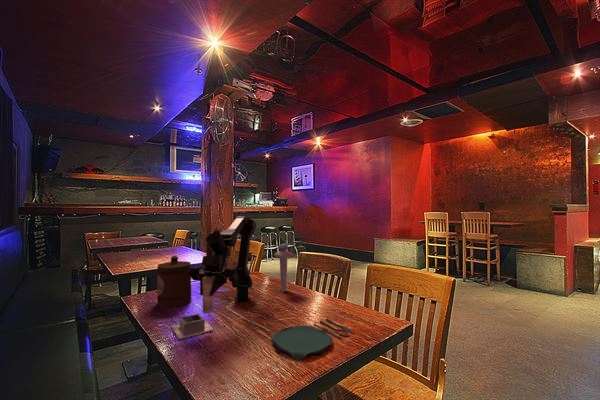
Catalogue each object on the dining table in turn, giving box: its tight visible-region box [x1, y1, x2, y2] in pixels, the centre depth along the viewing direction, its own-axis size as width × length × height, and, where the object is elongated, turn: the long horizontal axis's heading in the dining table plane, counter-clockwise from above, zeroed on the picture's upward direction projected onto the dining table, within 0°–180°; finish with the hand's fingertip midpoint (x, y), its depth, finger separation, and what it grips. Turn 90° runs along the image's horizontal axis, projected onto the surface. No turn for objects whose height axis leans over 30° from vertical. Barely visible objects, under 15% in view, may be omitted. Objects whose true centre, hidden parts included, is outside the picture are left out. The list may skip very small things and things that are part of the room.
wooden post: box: [202, 277, 214, 315], centre depth 107 cm, size 4×4×12 cm
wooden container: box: [156, 255, 192, 308], centre depth 137 cm, size 15×15×22 cm
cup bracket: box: [171, 313, 214, 340], centre depth 108 cm, size 12×12×4 cm
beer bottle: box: [202, 242, 215, 284], centre depth 166 cm, size 8×8×24 cm
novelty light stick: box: [273, 243, 294, 293], centre depth 153 cm, size 10×10×25 cm
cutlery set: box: [270, 318, 356, 361], centre depth 100 cm, size 20×30×2 cm, turn 128°
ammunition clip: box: [231, 258, 238, 269], centre depth 176 cm, size 11×2×12 cm, turn 47°
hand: (205, 295), depth 105 cm, fingers closed on wooden post, 3 cm apart
